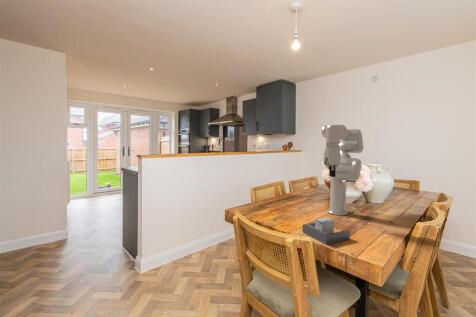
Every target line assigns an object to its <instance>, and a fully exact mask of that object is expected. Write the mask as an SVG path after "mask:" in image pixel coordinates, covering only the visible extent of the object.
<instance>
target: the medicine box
mask: <svg viewBox="0 0 476 317" xmlns="http://www.w3.org/2000/svg"><path fill="white" fill-rule="evenodd" d="M315 222H316V223H315ZM315 222H314V223H315V228H317V229H319V230H321V231H324V232H326V233H327V234H331V233H335V232H334V228H335V226H334V225H335V220H334V219H332V218H329V217H324V218H319V219H318V218H317V219H315Z"/></svg>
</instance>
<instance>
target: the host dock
mask: <svg viewBox="0 0 476 317" xmlns="http://www.w3.org/2000/svg"><path fill="white" fill-rule="evenodd" d="M315 223H316V221H314V222H311V223H306V224H304V223H303V224H302V234H304V235H307V236H309V237H310V238H313V239H314V240H316V241H318V242H320V243H321V244H324V245H325V244H326V246H328V245H330V244H331V245H332V244H335V243H339V242H344V241H348V240H350V239H351V231H350V229H349V230H348V229H346V230H345V229H344V230H341V231H337V232H334V233H331V234H327V233H326V232H324V231H321V230H319V229H317V228H315ZM327 244H328V245H327Z"/></svg>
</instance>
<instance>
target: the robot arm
mask: <svg viewBox="0 0 476 317" xmlns="http://www.w3.org/2000/svg"><path fill="white" fill-rule="evenodd" d="M320 132H321V135H322V137H323V138H324V139H325V148H324V152H323V162H322V163H323V165H325V168H328V170H329V171H328V176H329V180H330V181H329V182H330V190H329V191H330V192H329V194H330V196H329V208H328V209H327V213H329V214H331V215H335V216H346V215H348V214H349V211H348V210H349V209H351V206H350V205H347V204H346V203H347V186H346V184H345V182H344V181H350V182H351V181H353V182H354V181H355V182H356V181H357V180H358V179H359V176H360V173H361V171H362V161H361V160H360V159H359V158H355V157H351V155H350V154H361V153H363V151H364V140H363V133H362V131H361V130H360V129H359V128H353V129H352V128H349V129H348V128H347V127H346V125H344V124H329V125H324V126H322V128H321V130H320Z"/></svg>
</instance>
